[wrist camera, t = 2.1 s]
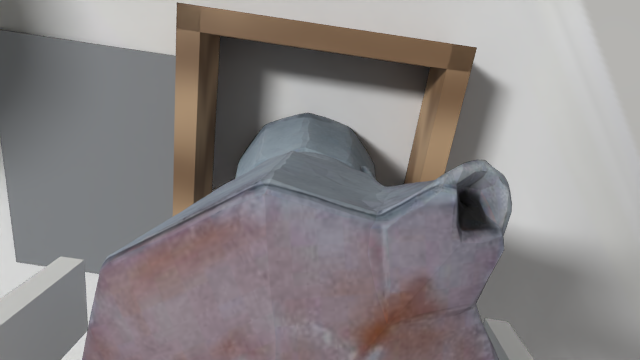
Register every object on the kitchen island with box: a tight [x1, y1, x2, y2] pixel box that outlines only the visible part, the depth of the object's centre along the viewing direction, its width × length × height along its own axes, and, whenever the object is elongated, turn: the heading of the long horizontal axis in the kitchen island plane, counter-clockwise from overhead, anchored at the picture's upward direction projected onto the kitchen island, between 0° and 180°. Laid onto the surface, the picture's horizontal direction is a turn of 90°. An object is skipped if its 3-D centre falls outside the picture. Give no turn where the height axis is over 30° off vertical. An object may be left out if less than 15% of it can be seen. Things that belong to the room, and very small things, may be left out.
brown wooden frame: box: [173, 3, 477, 216], centre depth 23 cm, size 18×15×4 cm
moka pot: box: [82, 113, 512, 360], centre depth 15 cm, size 10×15×20 cm, turn 144°
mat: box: [0, 30, 176, 274], centre depth 25 cm, size 16×12×1 cm
